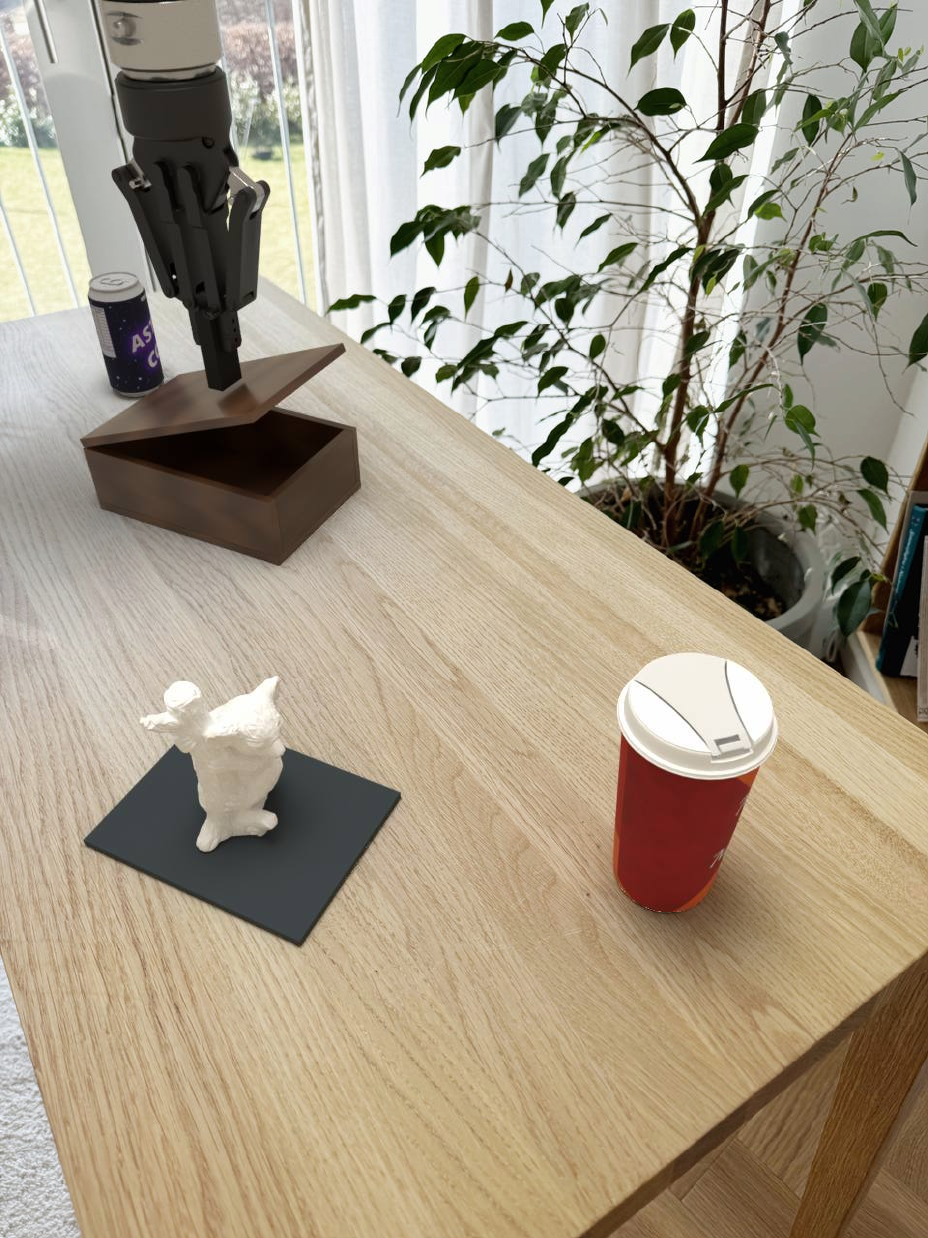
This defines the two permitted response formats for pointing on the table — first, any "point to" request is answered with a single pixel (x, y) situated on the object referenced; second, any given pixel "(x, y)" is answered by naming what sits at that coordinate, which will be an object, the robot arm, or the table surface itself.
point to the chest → (234, 481)
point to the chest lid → (215, 398)
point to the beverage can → (125, 333)
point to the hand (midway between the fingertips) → (225, 382)
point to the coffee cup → (685, 773)
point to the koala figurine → (227, 755)
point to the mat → (251, 840)
